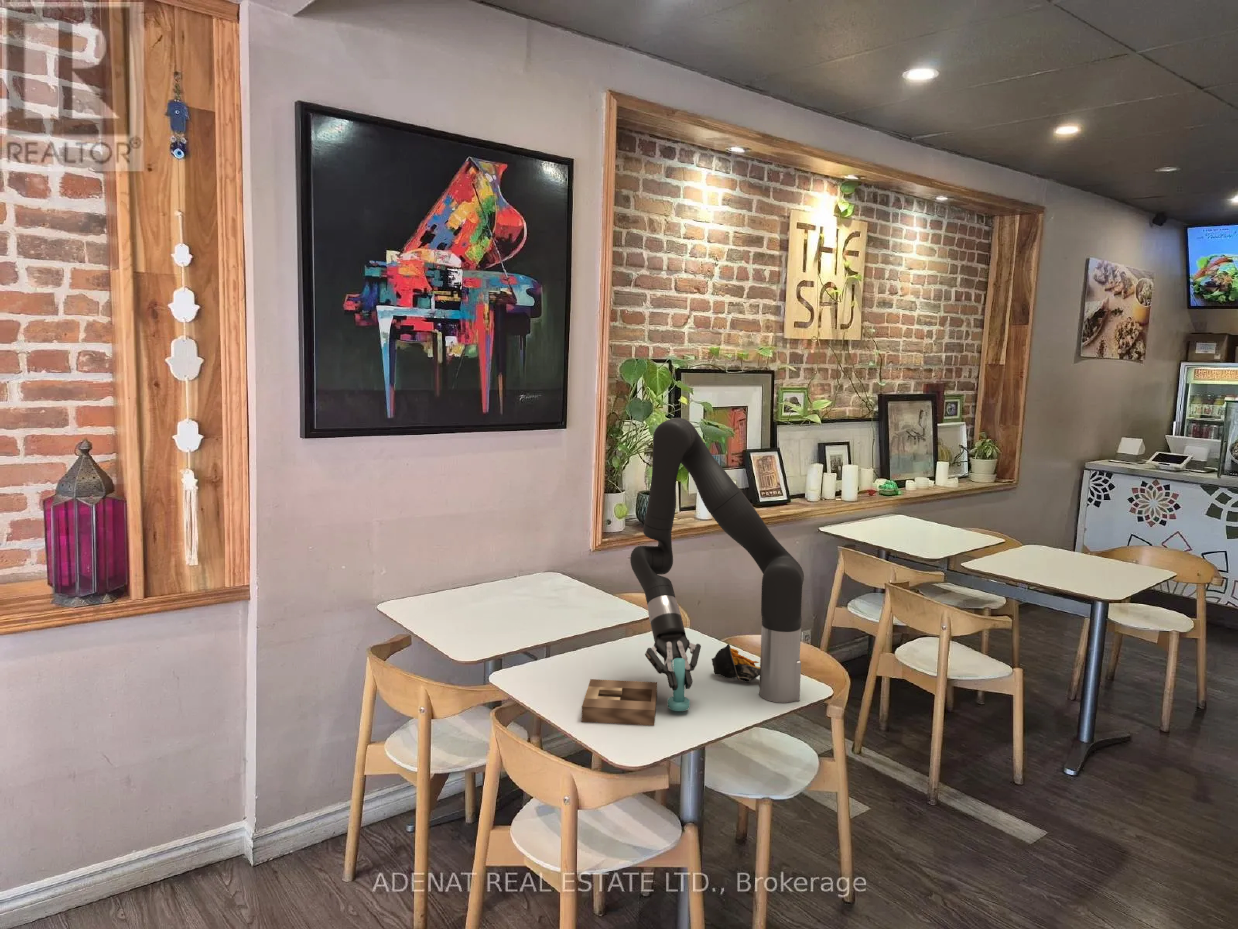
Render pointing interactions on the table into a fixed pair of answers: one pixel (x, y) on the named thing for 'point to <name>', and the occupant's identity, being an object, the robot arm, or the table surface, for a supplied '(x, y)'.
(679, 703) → the peg
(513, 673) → the table surface
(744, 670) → the black fries container
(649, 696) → the keyhole plate
